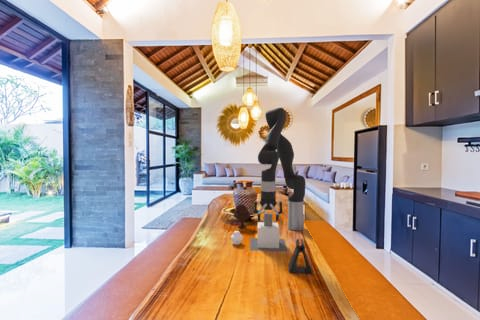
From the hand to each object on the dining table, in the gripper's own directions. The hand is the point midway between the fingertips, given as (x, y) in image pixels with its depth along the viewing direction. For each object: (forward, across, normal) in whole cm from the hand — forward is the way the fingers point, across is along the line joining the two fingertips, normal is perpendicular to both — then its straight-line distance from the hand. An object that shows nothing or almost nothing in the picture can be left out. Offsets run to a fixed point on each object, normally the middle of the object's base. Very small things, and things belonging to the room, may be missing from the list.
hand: (268, 221), depth 138 cm
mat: (+12, 0, 0) cm, 12 cm away
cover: (+12, 0, 0) cm, 12 cm away
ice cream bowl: (+12, +15, -30) cm, 36 cm away
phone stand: (+12, -12, +28) cm, 33 cm away
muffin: (+12, +16, 0) cm, 20 cm away
